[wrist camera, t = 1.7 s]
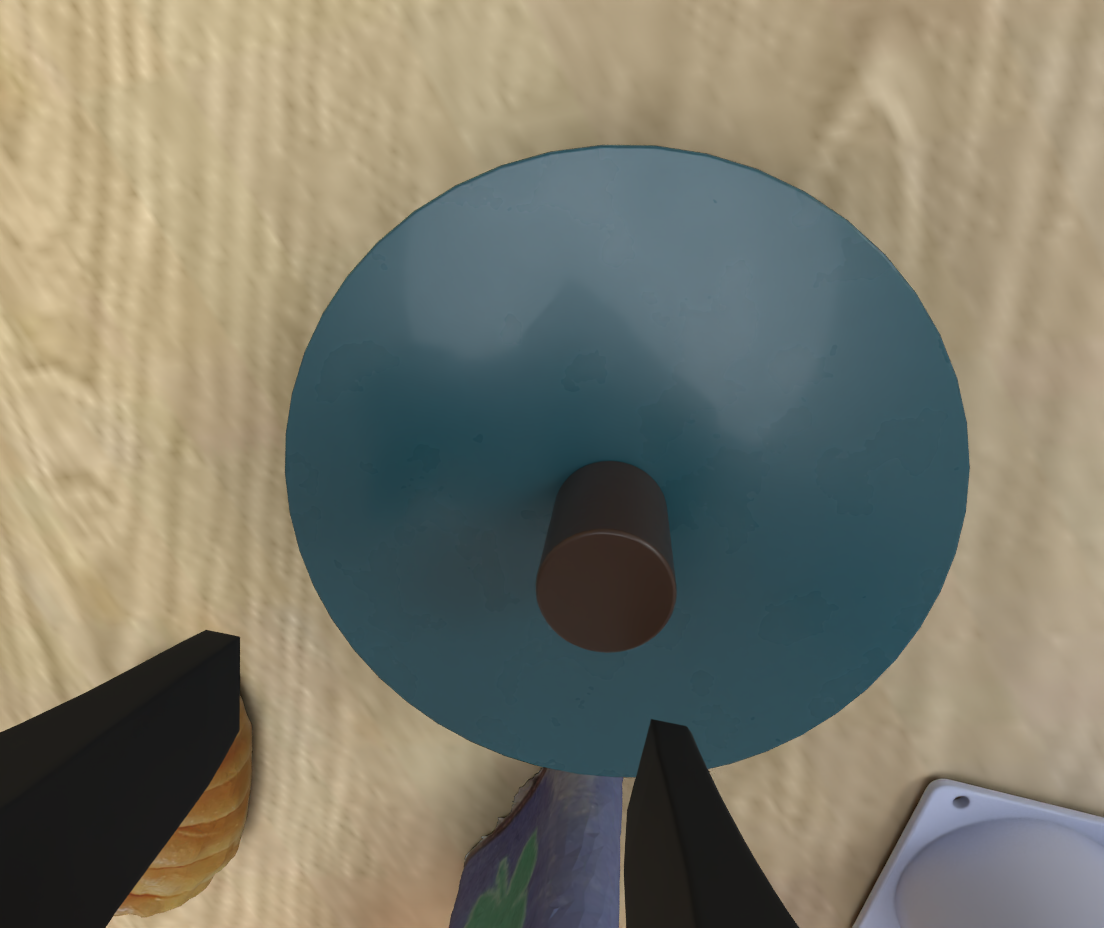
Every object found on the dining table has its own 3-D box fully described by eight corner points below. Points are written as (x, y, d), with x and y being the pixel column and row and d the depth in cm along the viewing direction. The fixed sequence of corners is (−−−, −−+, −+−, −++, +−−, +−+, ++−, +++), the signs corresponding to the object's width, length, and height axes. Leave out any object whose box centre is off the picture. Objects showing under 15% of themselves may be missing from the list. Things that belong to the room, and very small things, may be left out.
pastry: (121, 622, 25) (39, 692, 22) (301, 697, 26) (249, 778, 22) (76, 803, 29) (-2, 890, 25) (235, 866, 29) (181, 961, 25)
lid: (1072, 242, 14) (1268, 261, 9) (812, 803, 19) (865, 977, 15) (339, 72, 14) (213, 18, 10) (281, 671, 19) (184, 805, 15)
